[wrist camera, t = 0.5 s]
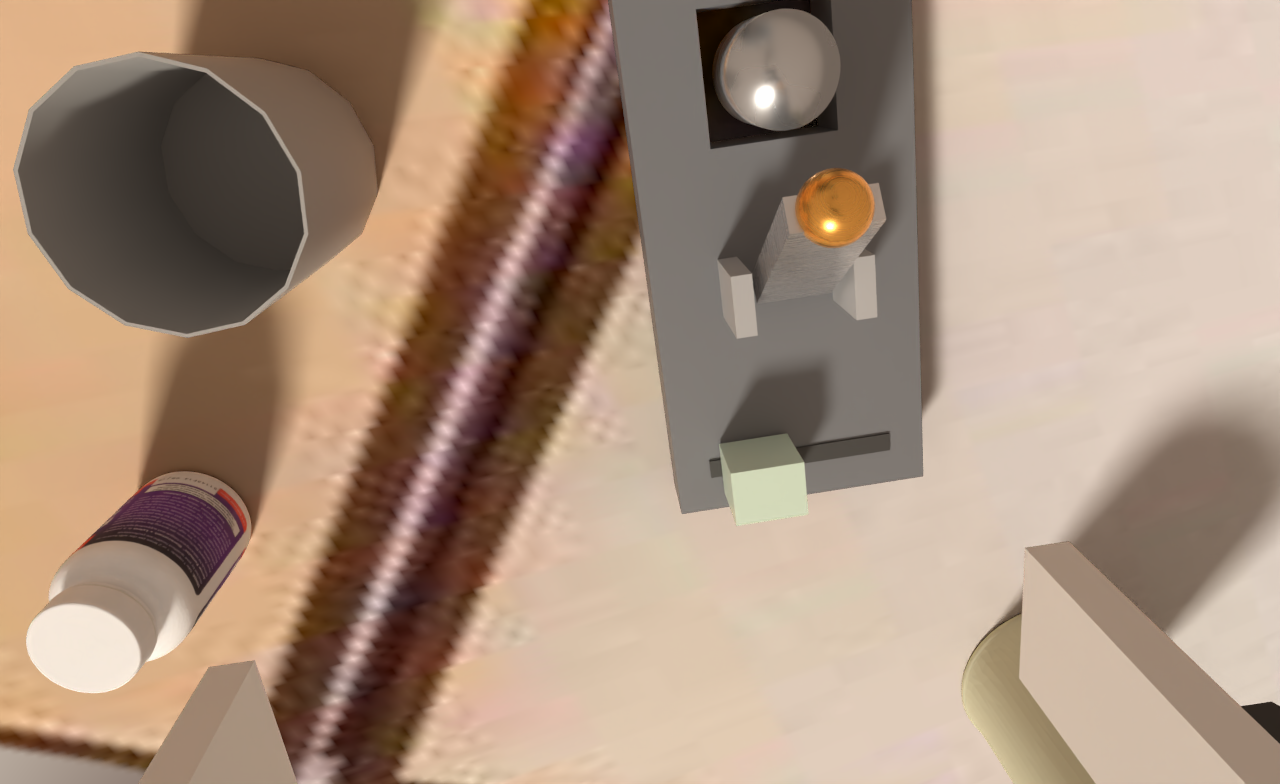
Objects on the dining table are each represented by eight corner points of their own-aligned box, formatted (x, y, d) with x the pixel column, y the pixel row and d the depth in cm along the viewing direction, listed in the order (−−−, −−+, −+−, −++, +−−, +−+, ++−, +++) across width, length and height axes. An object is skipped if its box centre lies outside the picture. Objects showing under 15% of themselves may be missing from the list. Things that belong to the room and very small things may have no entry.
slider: (719, 443, 37) (730, 473, 35) (787, 433, 37) (804, 462, 35) (724, 492, 38) (736, 525, 35) (791, 482, 38) (808, 514, 35)
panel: (572, -260, 31) (571, -337, 25) (873, -303, 31) (941, -389, 25) (674, 484, 41) (690, 551, 36) (899, 449, 42) (952, 509, 36)
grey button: (706, 23, 33) (721, 17, 29) (811, 8, 33) (837, 0, 29) (718, 132, 34) (733, 138, 31) (817, 117, 34) (843, 122, 31)
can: (1159, 660, 47) (1342, 843, 36) (1036, 769, 49) (1172, 974, 38) (1050, 573, 45) (1209, 740, 34) (925, 692, 47) (1036, 886, 36)
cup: (340, 39, 34) (250, 26, 24) (404, 244, 37) (346, 302, 27) (131, 87, 34) (-39, 92, 25) (211, 287, 37) (87, 360, 27)
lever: (748, 261, 34) (785, 162, 25) (822, 249, 35) (885, 147, 25) (759, 318, 34) (800, 239, 25) (834, 307, 34) (902, 223, 25)
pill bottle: (131, 461, 39) (-4, 578, 30) (255, 474, 40) (159, 592, 31) (136, 564, 41) (9, 704, 32) (253, 575, 42) (163, 716, 32)
